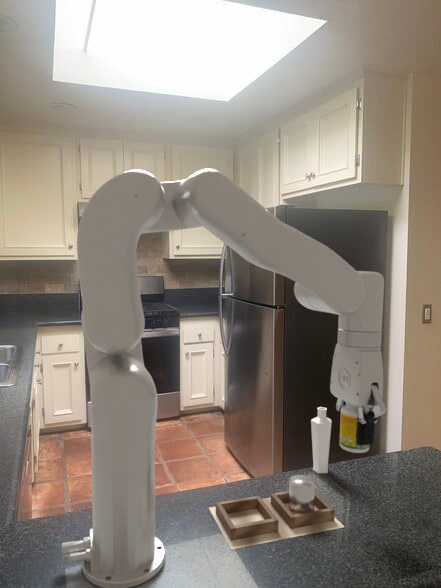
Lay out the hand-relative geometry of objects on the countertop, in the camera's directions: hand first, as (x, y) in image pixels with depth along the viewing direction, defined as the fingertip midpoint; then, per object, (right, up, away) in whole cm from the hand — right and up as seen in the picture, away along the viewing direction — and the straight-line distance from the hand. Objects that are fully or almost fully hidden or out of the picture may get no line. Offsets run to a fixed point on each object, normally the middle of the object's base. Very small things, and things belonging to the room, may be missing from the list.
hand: (354, 436), depth 82 cm
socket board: (-15, -15, -1) cm, 21 cm away
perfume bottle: (-2, -14, +18) cm, 23 cm away
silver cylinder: (-10, -14, +1) cm, 17 cm away
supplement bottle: (0, -2, 0) cm, 2 cm away
